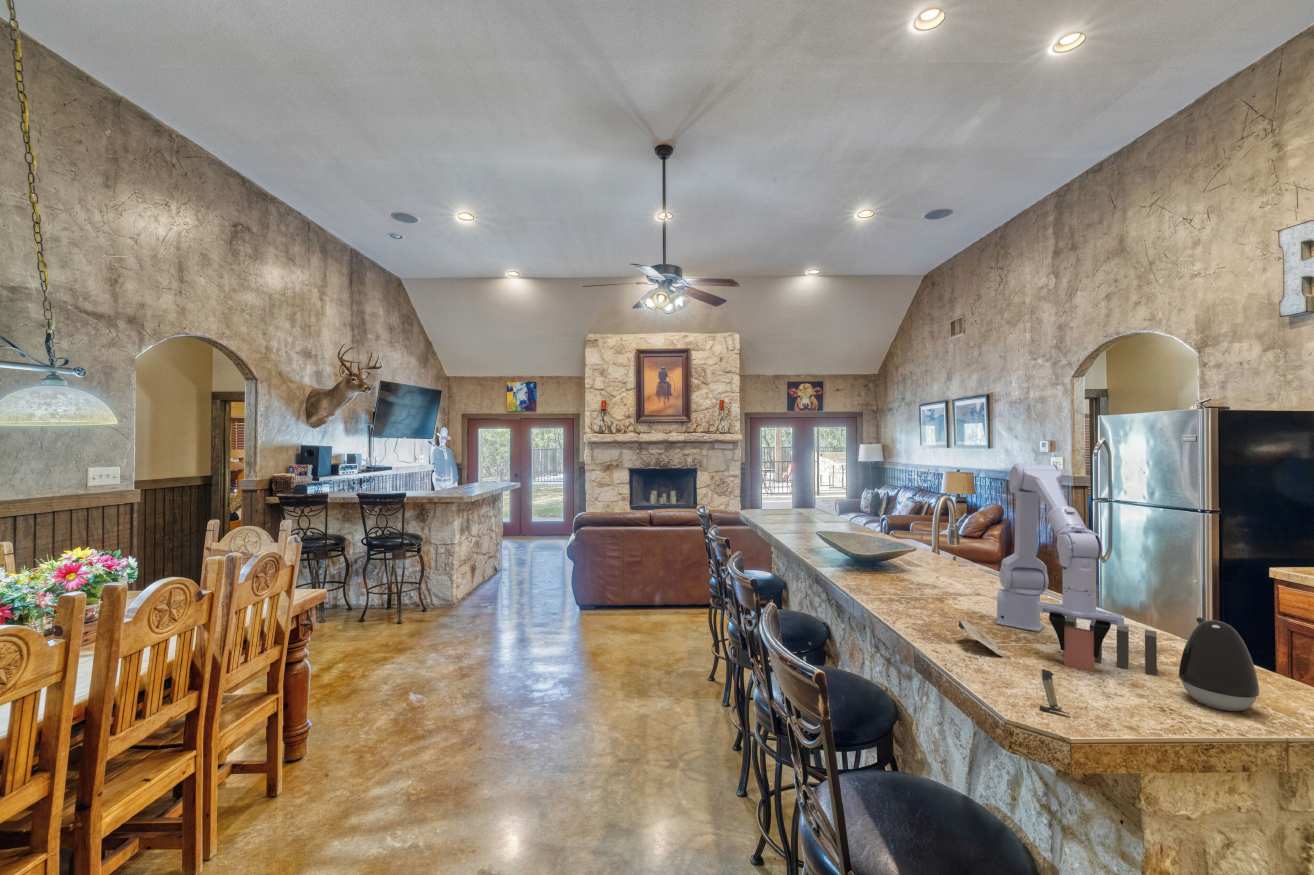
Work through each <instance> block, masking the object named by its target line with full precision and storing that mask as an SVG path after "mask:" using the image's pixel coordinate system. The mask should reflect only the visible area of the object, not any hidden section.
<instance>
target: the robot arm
mask: <svg viewBox="0 0 1314 875" xmlns="http://www.w3.org/2000/svg"><path fill="white" fill-rule="evenodd" d="M1063 481H1064V475H1063V471H1062V467H1060V466H1059V465H1058V464H1055V463H1053V464H1029V463H1028V464H1025V463H1023V464H1022V463H1021V464H1020V463H1014V465H1013V466H1012V467H1011V469H1010V470H1009V485H1008V486H1009V492H1010V493H1013V494H1015V519H1014V520H1015V521H1014V548H1013V549H1014V551H1013V553H1012V554H1010V555H1008V556H1006V557H1005V558H1003V559H1002V560H1001V566H1000V569H999V575H998V576H999V582H1000V585H1001V586H1002V588H999V589H998V591H997V594H996V595H997V596H996V624H997V625H1003V626H1007V627H1013V628H1016V629H1023V630H1027V631H1032V632H1037V633H1039V632H1041V631H1042V629H1043V627H1044V625H1045V624H1044V623H1043V622H1041V613H1042V614H1043V613H1046V614H1049V616H1048V620H1049V622H1050V624H1051V625H1052V627H1053V629H1054V631H1055V634H1056V636H1057V640H1058V643H1059V648H1060V649H1059V650H1060V651H1063V652H1064V651H1065V645H1064V627H1065V618H1066V616H1068V617H1073V618H1076V619H1079V620H1080V619H1081V620H1086V621H1090V622H1091V621H1096V622H1095V624H1094V632H1095V645H1094V657H1097V658H1098V657H1099V650H1100V646H1101V644H1102V645H1103V641H1104V639H1105V637H1106V636H1107V634H1108V633H1109V631H1110V630H1111V625H1113V626H1114V625H1115V626H1116V627H1117V626H1120V627H1124V626H1125V616H1124V615H1121V614H1117V613H1110V612H1107V611H1103V610H1098V609H1097V561H1098V560H1100V559H1101V558H1102V555H1103V552H1104V550H1103V548H1104V547H1103V543H1102V540H1101V538H1100V535H1099V534H1098V533H1096V532H1093V530H1092V529H1088V528H1087V526H1086V525H1085V523H1084V521H1083V519H1082V517H1081V515H1080V514H1079V512H1078V511H1077V509H1076V508H1074V507H1072V506H1070V505H1068V503H1067V500H1066V497H1065V495H1064V491H1062V484H1063ZM1040 499H1042V501H1043V502H1044V504H1045V505H1046V507H1047V509H1048V510H1049V512H1048V514H1047V520H1048V521H1049V524H1050V525H1051V527H1052V530H1053V532H1054V533H1055V535H1056V537H1057V540H1056V549H1057V552H1058V558H1059V565H1060V566H1062V573H1061V574H1062V576H1061V577H1062V604H1061V603H1050V602H1043V601H1042V602H1041V596H1043V595H1044V592H1046V591H1047V589H1048V588H1049V584H1050V583H1049V582H1050V580H1049V575H1048V568H1047V565H1046V564H1045V562H1043V561H1042V560H1041V559H1039V558H1038V557H1037V552H1038V551H1037V550H1038V549H1037V548H1038V546H1037V545H1038V522H1039V500H1040Z"/></svg>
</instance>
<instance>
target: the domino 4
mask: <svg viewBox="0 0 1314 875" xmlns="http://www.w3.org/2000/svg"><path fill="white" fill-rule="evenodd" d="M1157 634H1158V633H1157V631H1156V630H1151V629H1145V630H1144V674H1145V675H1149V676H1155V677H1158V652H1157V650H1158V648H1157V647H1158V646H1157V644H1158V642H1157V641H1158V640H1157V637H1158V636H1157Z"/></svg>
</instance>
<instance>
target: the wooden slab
mask: <svg viewBox="0 0 1314 875" xmlns="http://www.w3.org/2000/svg"><path fill="white" fill-rule="evenodd" d="M958 627H959V629H960V630H963V631H965V633H966V634H968V635H969V636H970V638H973V639H974V640H975V641H974V643H973V646H975V645H978V644H980V645H982V644H983V645H984V646H986V647H987V648H988V649H989V650H991V651H993V652H994V653H995V654H997V655H999V656H1000V657H1002V658H1003V657H1005V656H1004V654H1003V652H1002V650H1000V648H999V644H998V643H996V641H994V639H992V637H990V635H988V634H987V633H984V632H983V631H981V630H980V629H979V628H977V627H976V626H975V625H972V624H970V623H969V622H967V621H963V620H961V619H960V620H958Z"/></svg>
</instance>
